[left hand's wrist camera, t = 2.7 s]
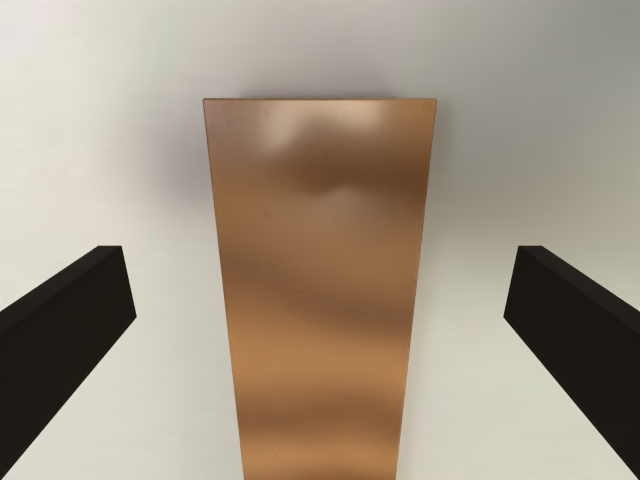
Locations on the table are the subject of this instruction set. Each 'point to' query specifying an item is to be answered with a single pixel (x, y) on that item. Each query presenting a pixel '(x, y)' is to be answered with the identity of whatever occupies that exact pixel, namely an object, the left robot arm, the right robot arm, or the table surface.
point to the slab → (319, 275)
